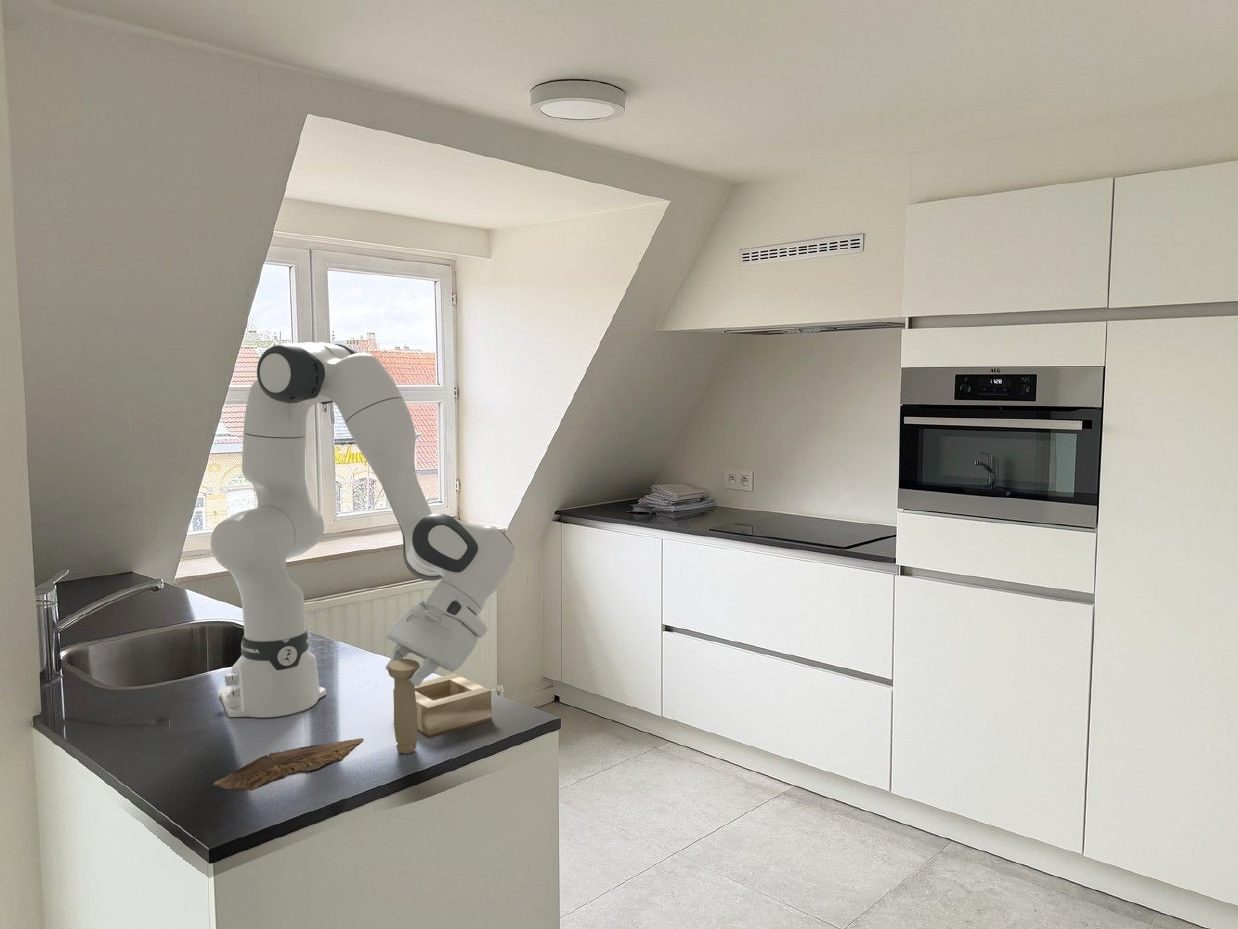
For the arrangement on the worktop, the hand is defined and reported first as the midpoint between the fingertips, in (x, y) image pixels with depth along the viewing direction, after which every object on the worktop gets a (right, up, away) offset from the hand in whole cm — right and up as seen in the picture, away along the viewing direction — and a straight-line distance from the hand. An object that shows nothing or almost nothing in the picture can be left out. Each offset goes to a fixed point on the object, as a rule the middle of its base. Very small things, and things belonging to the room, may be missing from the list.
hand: (400, 677), depth 155 cm
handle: (+1, -13, +2) cm, 13 cm away
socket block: (+4, -11, +16) cm, 20 cm away
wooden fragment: (-17, -14, -2) cm, 22 cm away
